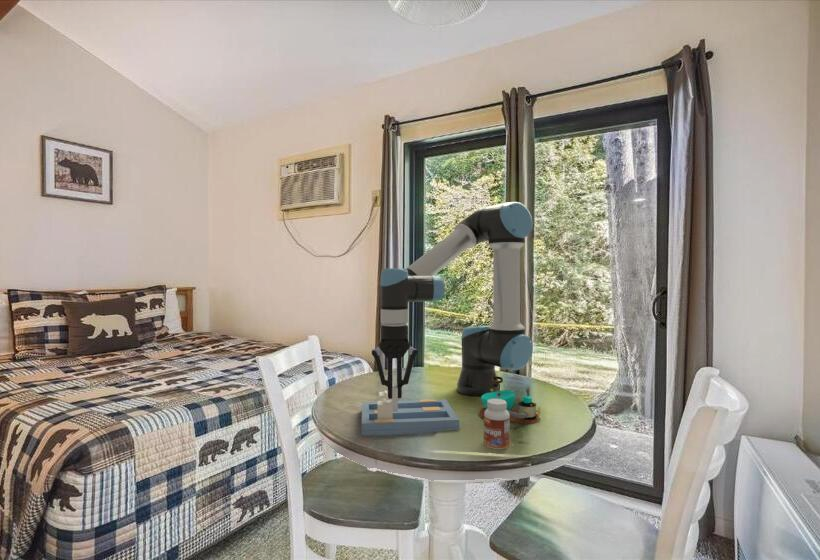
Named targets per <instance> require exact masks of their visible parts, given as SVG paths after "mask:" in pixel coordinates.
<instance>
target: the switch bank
mask: <svg viewBox="0 0 820 560" xmlns="http://www.w3.org/2000/svg"><path fill="white" fill-rule="evenodd" d="M458 430H461V429H460V418H459V417H458V415H457V414H456V412H455V411H454V409H453V408H452V406H451V405H450V404H449V402H448V400H447V399H445V398H444V399H435V398H434V399H429V398H428V399H416V400H415V399H414V400H398V411H396V412H393V419H377V401H362V403H361V436H362V435H379V436H395V435H396V436H398V435H419V434H420V435H421V434H422V435H423V434H436V433H437V432H438V431H440V432H442V431H458ZM392 434H393V435H392Z"/></svg>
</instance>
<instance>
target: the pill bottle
mask: <svg viewBox="0 0 820 560" xmlns="http://www.w3.org/2000/svg"><path fill="white" fill-rule="evenodd" d="M487 407H488V409H486V410H485V412H484V419H483V445H484V446H486V447H487V448H490V449H496V450H502V449H508V448H509V447H510V438H511V437H510V433H511V432H510V427H511V426H510V424H511V422H510V414H509V412H508V411H507V410H506V408H507V402H506V401H505V400H502V399H489V400H487Z"/></svg>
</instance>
